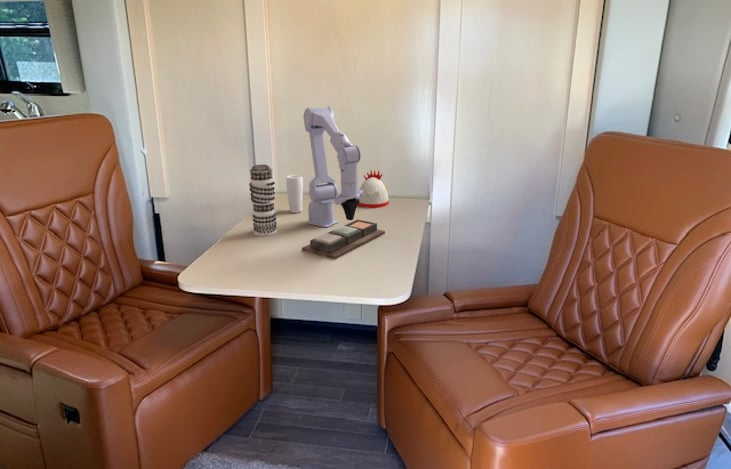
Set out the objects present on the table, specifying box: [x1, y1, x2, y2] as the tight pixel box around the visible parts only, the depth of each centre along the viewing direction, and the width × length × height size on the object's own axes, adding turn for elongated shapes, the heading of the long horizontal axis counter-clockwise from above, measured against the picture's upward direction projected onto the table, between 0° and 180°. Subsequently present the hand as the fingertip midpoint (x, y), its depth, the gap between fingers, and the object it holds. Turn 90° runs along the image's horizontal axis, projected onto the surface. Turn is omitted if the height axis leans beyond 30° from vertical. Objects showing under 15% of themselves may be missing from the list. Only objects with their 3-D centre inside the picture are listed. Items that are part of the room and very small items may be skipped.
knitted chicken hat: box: [356, 169, 390, 209], centre depth 227 cm, size 14×14×15 cm
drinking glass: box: [285, 174, 304, 214], centre depth 216 cm, size 7×7×15 cm
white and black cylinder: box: [248, 164, 278, 237], centre depth 190 cm, size 9×9×25 cm
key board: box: [301, 219, 386, 260], centre depth 183 cm, size 14×30×4 cm, turn 146°
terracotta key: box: [350, 222, 372, 229], centre depth 190 cm, size 6×6×2 cm
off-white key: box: [314, 232, 342, 244], centre depth 175 cm, size 6×6×2 cm
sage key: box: [331, 225, 358, 236], centre depth 183 cm, size 6×6×2 cm
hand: (349, 219), depth 184 cm, fingers closed
